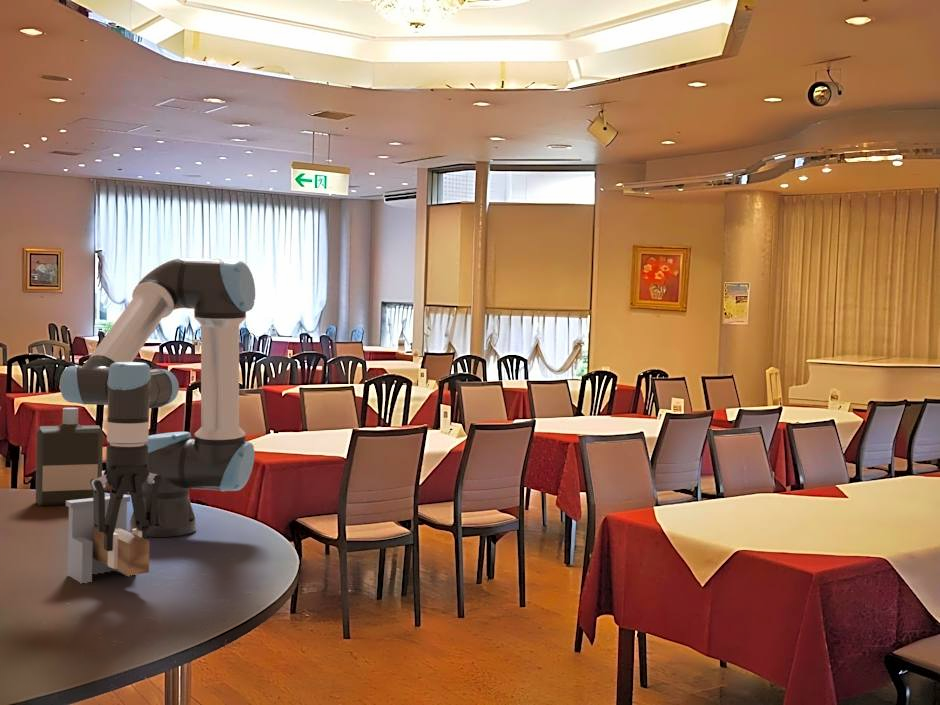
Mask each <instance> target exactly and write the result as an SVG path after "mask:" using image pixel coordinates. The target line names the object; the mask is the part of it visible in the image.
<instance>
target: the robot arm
mask: <svg viewBox="0 0 940 705" xmlns="http://www.w3.org/2000/svg"><path fill="white" fill-rule="evenodd" d="M131 297H132V299H131V301H129V303H128V304H127V306H126V307H125V309H124V310H123V312H121V314H120V315H119V316H118V318H117V319H116V320H115V322H114V323H113V325H112V326H111V327H110V329H109V331H108V332H107V334H105V336H104V337H103V338H102V340H101V341H100V342H99V344H98V345H97V347H96V348H95V349H94V351H93V352H92V354H91V355H90V356H89V358H88V359H87V360H86V361H85V363H84V364H83V365H79V364H77V365H70V366H68V367H66V368H64V370H63V371H62V373H61V375H60V379H59V390H60V393H61V396H62V398H63V399H64V400H65V401H66V402H68V403H73V404H80V405H95V406H99V405H100V406H107V420H106V421H107V422H106V441H107V443H108V444H107V446H106V453H105V454H106V456H105V458H106V459H105V465H106V469H105V470H104V472H103V475H102V477H100V478H97V479H91V480H90V484H91V487H92V489H93V514H94V529H95V530H97V531H99V532H103V533H104V550H106V551H108V566H109V567H111V568H113V569H117V561H118V534H117V533H114V531H115V527H116V522H117V518H118V513H119V508H120V504H121V500H122V498H123V496H124V495H125V494H127V493H129V496H130V501H131V504H132V511H133V512H132V515H131V518H130V519H129V527H128V528H129V529H128V530H129V531H128V532H130V533H132V534H134V535H137V536H139V537H142V538H144V539H146V540H147V537H149V538H168V537H177V536H178V537H179V536H184V535H188V534H191V533H193V532H195V531H196V529H197V520H196V516H195V513H194V510H193V507H192V503H191V500H190V489H193V490H207V491H208V490H209V491H220V492H236V491H240V490H241V489H243V488H244V487H245V486H246V484H247V483H248V481H249V480H250V477H251V475H252V472H253V467H254V464H255V455H256V454H255V449H254V445H253V443H252V442H250V441H246V432H245V431H244V430H243V429H242V428H241V426H240V413H239V412H240V325H241V324H242V323H243V321H246V319H247V312H250V311H251V310H253V307H254V306H255V300H256V287H255V280H254V277H253V273H252V272H251V270H250V268H249V266H248V265H247V264H246V263H245V262H244V261H241V260H238V259H229V258H196V257H195V258H190V257H180V258H175V259H171V260H169V261H167V262H166V261H165V262H164V263H162V264H161V265H159V266H157V267H156V268H154V269H153V270H151V271H149V273H147V274H146V275H144V277H143V278H142V279H141V280H140V281H139V282H138V283H137V285H136V286H135V288H134V289H133V291H132V296H131ZM177 309H178V310H179V309H191V310H194V311H193V312H194V314H193V316H194V319H195V320H196V322H198V323H199V325H200V352H201V354H200V363H201V364H200V392H201V393H200V395H201V396H200V400H201V401H200V403H201V404H200V408H201V410H200V411H201V412H200V418H201V419H200V421H201V423H200V425H201V426H200V427H199V429H198V430H197V431H195V432H194V438H192V434H191V432H189V431H174V432H164V433H156V434H151V435H149V430H150V429H149V427H150V425H149V424H150V423H149V422H150V419H149V418H150V416H149V415H150V409H155V408H162V407H164V406H166V405H169V404H171V403H173V401H174V400H175V399H176V398H177V396H178V394H179V390H180V385H179V381H178V379H177V377H176V375H175V374H174V373H173V372H172V371H170V370H168V369H162V368H153V369H151V368H150V365H149V364H148V363H146V362H141V361H139V362H138V361H137V362H136V361H134V360H135V358H136V357H137V356H138V354H139V353H140V351H141V350H142V348H143V347H144V345H145V344H146V342H147V341H148V339H150V337H151V335H152V334H153V333H154V330H155V329H156V328H157V326H158V325H159V323H160V322H161V320H162V319H165V318H167V317H169V316H170V315H171V314H172V312H173V311H174V310H177ZM106 484H108V486H110V490H109V496H110V499H109V504H108V508H107V513H106V517H105V497H106V493H105V488H106Z"/></svg>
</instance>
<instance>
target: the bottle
mask: <svg viewBox="0 0 940 705" xmlns="http://www.w3.org/2000/svg"><path fill="white" fill-rule="evenodd" d="M103 444H104V431H103V429H102V428H101V427H100V425H95V424H94V425H81V424H80V423H79V407H63V408H62V422H61V423H60V425H39V427H38V428H37V429H36V450H35V451H36V454H35V456H36V458H35V460H36V462H35V463H36V464H35V468H36V469H35V502H36V504H37V505H38V507H47V506H49V507H51V506H66V501H68V500H78V499H87V498H93V489H92V487H91V484H90V480H91V479H97V478H100V477H102V476H103V459H104V458H103V455H104V454H103V453H104V452H103V451H104V450H103V449H104V445H103Z"/></svg>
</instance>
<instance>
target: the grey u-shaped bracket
mask: <svg viewBox="0 0 940 705" xmlns="http://www.w3.org/2000/svg"><path fill="white" fill-rule="evenodd" d="M109 499H110V495H108V496H107V495H105V517H106V513H107V508H108V504H109ZM129 502H131V495H127V494H124V496H123V498H122V500H121V504H120V508H119V513H118V518H117V522H116V527H118V528H121V529H123V530H125V531H127V520H128V519H127V516H128V503H129ZM65 506H66V507H67V508H68V524H67V526H68V527H67V528H68V530H67V531H68V535H67V575H68V576H70V577H72V578H74V579H75V580H77V581H78V582H77V581H76V582H77V583H79V582H80V583H79V584H81V583H85V584H88V583H87V582H91V583H92V582H93V575H92V574H95V573H96V574H95V575H98V574H97V573H101V574H105V573H104V572H108V573H110V572H109V571H114V572H117V571H118V570H116V569H113V568H111V567H109V566H108V565H106V564H104V563H102V562H100V561H98V560H96V559H94V558H93V527H94V514H93V498H87V499H78V500H68V501H66V505H65ZM118 572H120V571H118ZM118 572H117V573H118ZM120 573H121V574H120ZM120 573H119V574H120V575H122V574H123V576H124V575H125V576H124V577H126V576H128V575H126V574H124V573H122V572H120ZM68 576H67V577H68ZM70 577H69V578H70ZM128 577H129V576H128ZM130 577H132V575H131V576H130ZM72 578H71V579H72ZM74 579H73V580H74ZM75 580H74V581H75Z"/></svg>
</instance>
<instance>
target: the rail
mask: <svg viewBox="0 0 940 705" xmlns="http://www.w3.org/2000/svg"><path fill="white" fill-rule="evenodd" d="M114 533H117V534H118V561H117V569H116V570H118V571H120V572H122V573H124V574H126V575H128V577H131V576H130V575H135V576H137V575H141V574H148V573H149V571H150V540H148V539H147V538H146V539H144V538H142V537H139V536H137V535H134V534H132V533H131V532H130V531H127V530H126V531H125V530H123V529H121V528H118V527H115V531H114ZM93 558H94V559H96V560H98V561H100V562H102V563H104V564H106V565H108V551H106V550H104V533H103V532H99V531H97V530H95V529H94V527H93Z"/></svg>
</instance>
